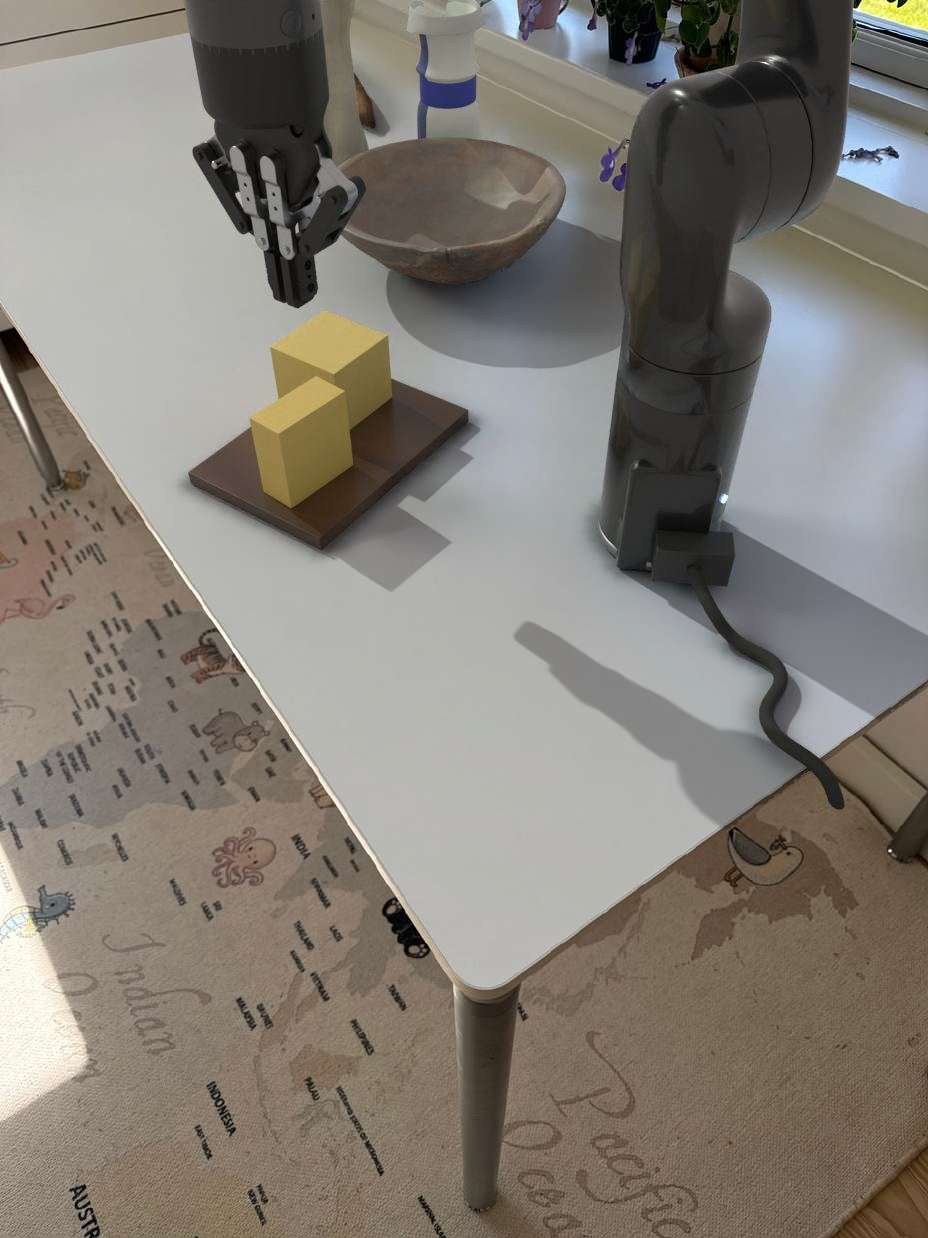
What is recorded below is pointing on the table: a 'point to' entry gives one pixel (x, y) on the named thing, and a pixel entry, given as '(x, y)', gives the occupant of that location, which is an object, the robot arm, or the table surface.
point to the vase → (341, 83)
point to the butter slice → (302, 441)
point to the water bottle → (447, 69)
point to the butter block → (336, 362)
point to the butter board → (379, 463)
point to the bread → (364, 105)
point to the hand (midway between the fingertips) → (294, 299)
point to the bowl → (451, 206)
